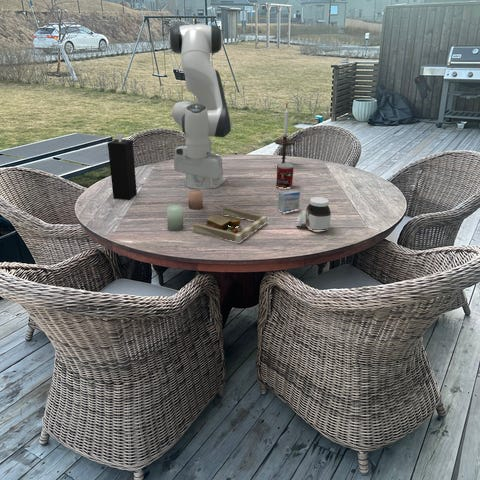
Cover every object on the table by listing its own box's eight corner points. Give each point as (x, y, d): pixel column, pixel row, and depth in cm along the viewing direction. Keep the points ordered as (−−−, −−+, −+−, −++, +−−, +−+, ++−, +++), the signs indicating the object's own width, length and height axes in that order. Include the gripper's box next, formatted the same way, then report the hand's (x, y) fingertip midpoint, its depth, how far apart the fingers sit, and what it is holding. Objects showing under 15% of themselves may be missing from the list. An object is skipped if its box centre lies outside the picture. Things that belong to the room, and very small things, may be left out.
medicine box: (282, 214, 183) (284, 194, 180) (277, 211, 187) (278, 191, 183) (298, 211, 187) (300, 192, 183) (292, 208, 190) (294, 188, 186)
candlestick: (287, 170, 244) (291, 104, 229) (270, 167, 249) (273, 102, 234) (296, 166, 252) (301, 102, 237) (279, 163, 257) (283, 100, 243)
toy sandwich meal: (228, 241, 159) (228, 228, 157) (200, 231, 166) (199, 219, 164) (249, 230, 168) (249, 218, 166) (221, 221, 175) (221, 210, 174)
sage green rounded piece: (174, 223, 172) (173, 203, 169) (186, 226, 169) (186, 206, 166) (164, 228, 167) (163, 208, 164) (177, 232, 165) (176, 211, 161)
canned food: (274, 188, 214) (275, 166, 210) (279, 184, 221) (280, 162, 216) (289, 190, 212) (290, 168, 207) (293, 186, 218) (295, 164, 214)
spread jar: (331, 233, 167) (335, 203, 162) (304, 236, 164) (306, 206, 159) (317, 221, 177) (320, 193, 172) (291, 223, 174) (293, 195, 169)
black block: (129, 200, 195) (124, 136, 183) (113, 199, 196) (106, 134, 184) (137, 194, 202) (132, 132, 190) (121, 193, 203) (115, 131, 191)
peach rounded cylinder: (194, 204, 192) (193, 188, 189) (205, 206, 190) (205, 191, 187) (185, 208, 187) (185, 192, 185) (197, 211, 185) (197, 195, 182)
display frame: (224, 213, 182) (224, 206, 181) (266, 223, 174) (267, 216, 172) (193, 232, 165) (192, 224, 164) (238, 243, 156) (239, 236, 155)
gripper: (226, 152, 163) (226, 188, 169) (180, 145, 171) (182, 179, 178) (217, 156, 158) (217, 193, 164) (170, 148, 166) (172, 183, 173)
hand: (198, 186), depth 171 cm, fingers closed
